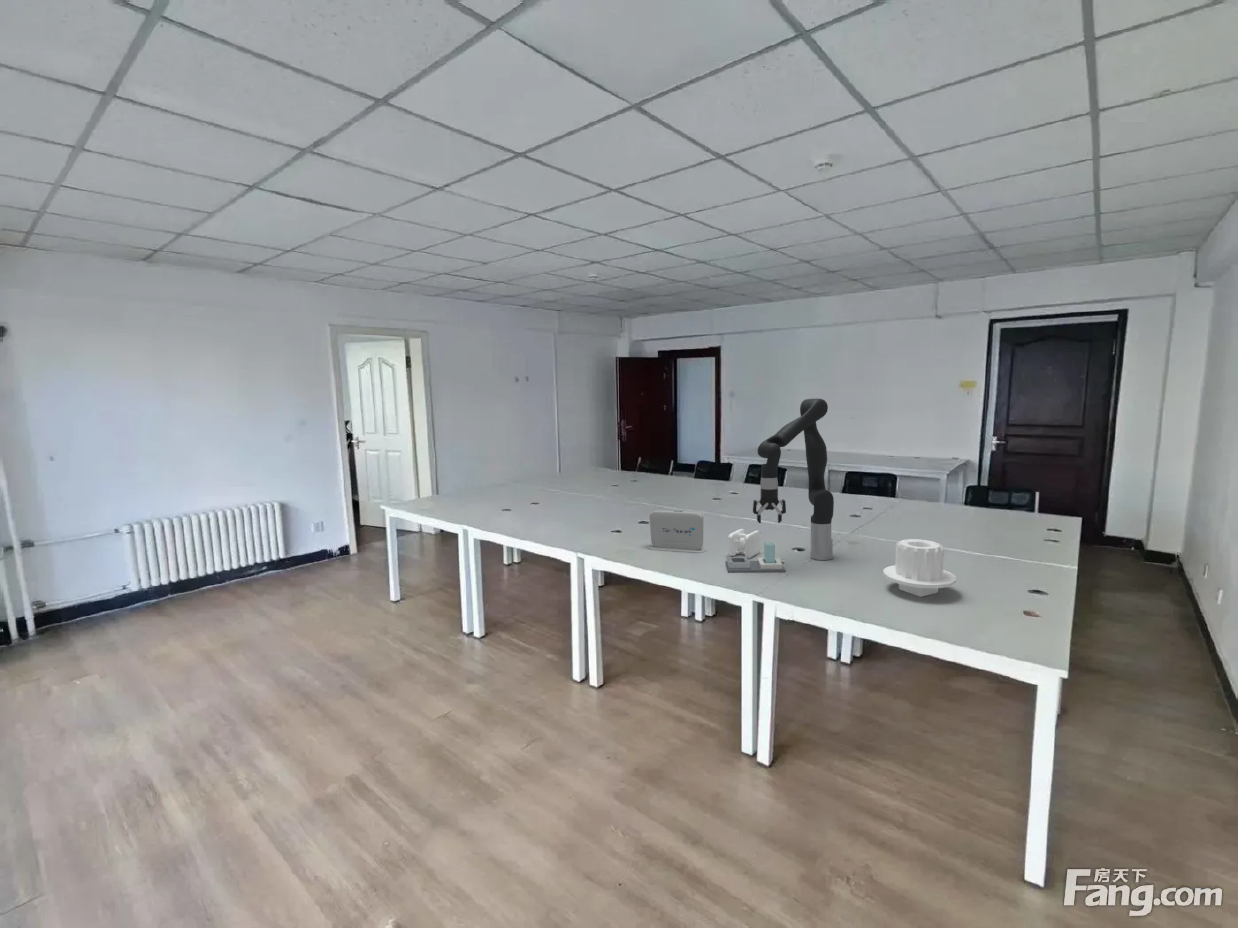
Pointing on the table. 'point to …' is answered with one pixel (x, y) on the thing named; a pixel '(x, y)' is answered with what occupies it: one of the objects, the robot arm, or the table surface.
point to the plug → (769, 552)
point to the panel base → (754, 568)
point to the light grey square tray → (769, 564)
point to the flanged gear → (919, 567)
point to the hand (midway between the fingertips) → (769, 522)
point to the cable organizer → (744, 543)
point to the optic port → (738, 563)
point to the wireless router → (677, 531)
